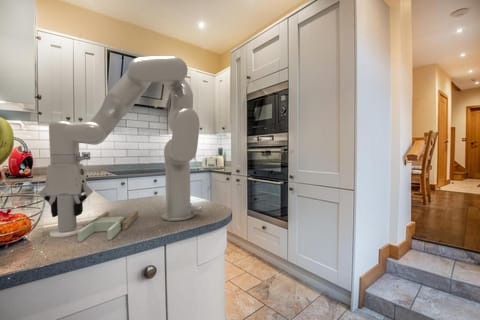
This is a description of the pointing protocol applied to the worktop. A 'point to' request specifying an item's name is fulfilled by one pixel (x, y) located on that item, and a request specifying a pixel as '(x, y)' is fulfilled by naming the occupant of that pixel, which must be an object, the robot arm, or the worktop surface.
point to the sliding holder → (102, 227)
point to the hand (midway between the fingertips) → (67, 214)
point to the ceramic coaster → (58, 234)
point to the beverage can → (66, 213)
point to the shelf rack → (126, 222)
